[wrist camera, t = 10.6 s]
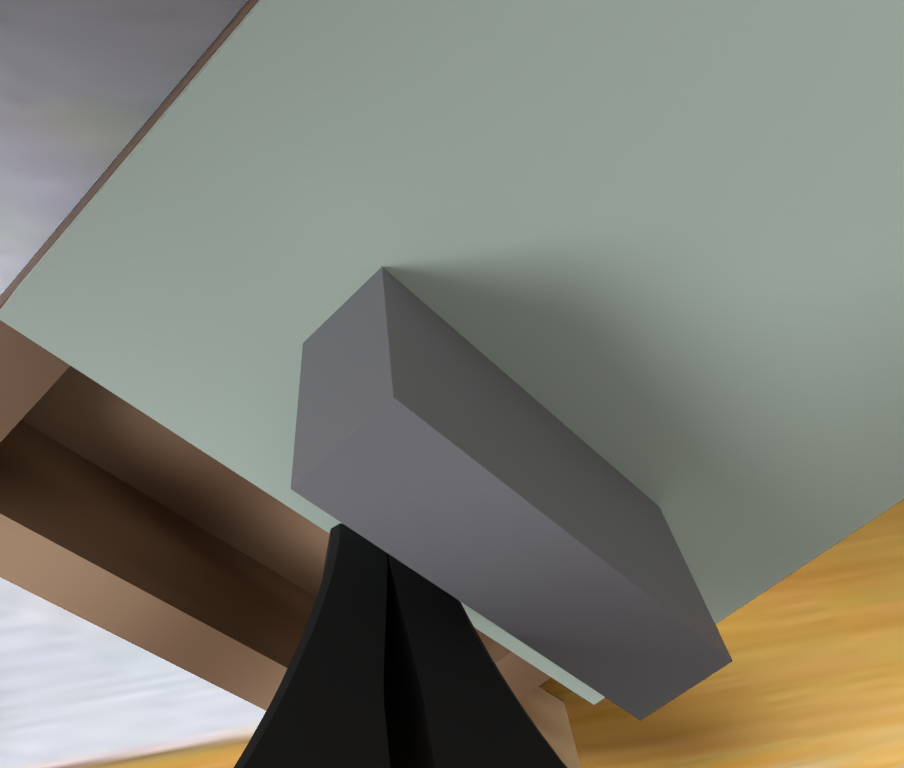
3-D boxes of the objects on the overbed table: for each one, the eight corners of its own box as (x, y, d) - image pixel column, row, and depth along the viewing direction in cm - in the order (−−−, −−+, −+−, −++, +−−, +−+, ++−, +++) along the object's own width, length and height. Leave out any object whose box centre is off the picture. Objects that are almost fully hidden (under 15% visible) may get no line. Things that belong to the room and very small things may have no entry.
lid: (16, 287, 11) (-116, 465, 8) (1235, -1158, 6) (2165, -2201, 3) (584, 670, 17) (640, 867, 13) (1480, 56, 12) (1908, 138, 8)
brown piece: (-79, 389, 15) (-161, 495, 13) (599, -418, 11) (678, -500, 8) (396, 666, 21) (403, 779, 18) (992, 218, 16) (1113, 288, 13)
